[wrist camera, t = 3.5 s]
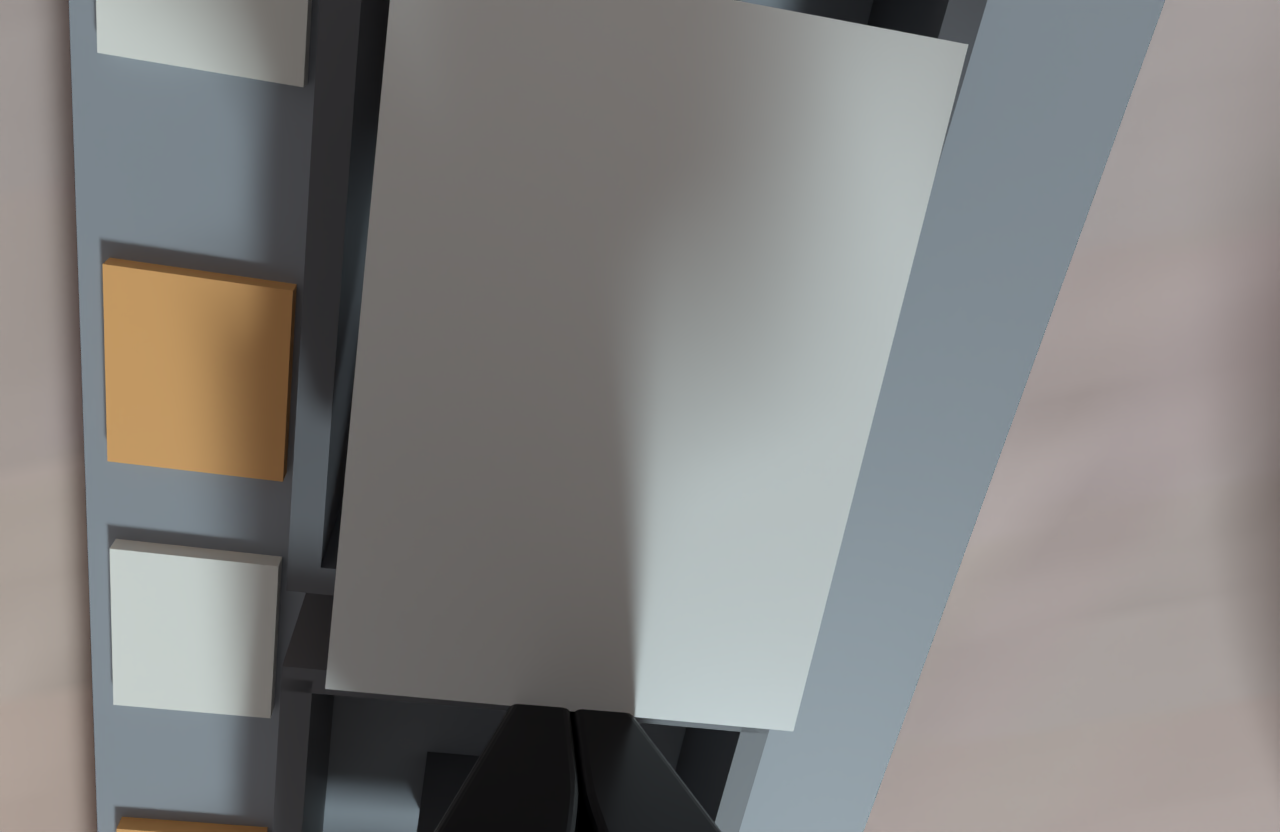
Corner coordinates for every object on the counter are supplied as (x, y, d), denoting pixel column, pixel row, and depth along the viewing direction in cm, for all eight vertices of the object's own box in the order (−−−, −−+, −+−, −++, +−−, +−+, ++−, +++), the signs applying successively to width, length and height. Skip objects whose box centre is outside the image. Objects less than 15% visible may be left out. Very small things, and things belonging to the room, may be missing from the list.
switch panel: (1098, -84, 12) (1369, -57, 8) (687, 1165, 22) (719, 1460, 18) (138, -288, 11) (-102, -374, 7) (150, 1148, 20) (54, 1464, 16)
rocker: (917, 39, 8) (969, 43, 7) (766, 661, 10) (792, 731, 9) (412, -55, 8) (395, -64, 7) (345, 620, 9) (324, 688, 8)
